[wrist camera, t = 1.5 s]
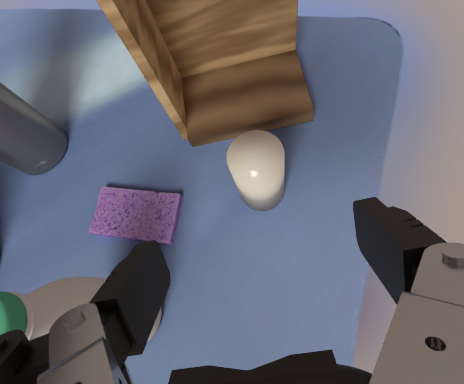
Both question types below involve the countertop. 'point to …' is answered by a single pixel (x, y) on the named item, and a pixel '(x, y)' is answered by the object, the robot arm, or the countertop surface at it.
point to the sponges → (136, 214)
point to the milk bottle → (48, 305)
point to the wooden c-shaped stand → (217, 62)
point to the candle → (258, 168)
